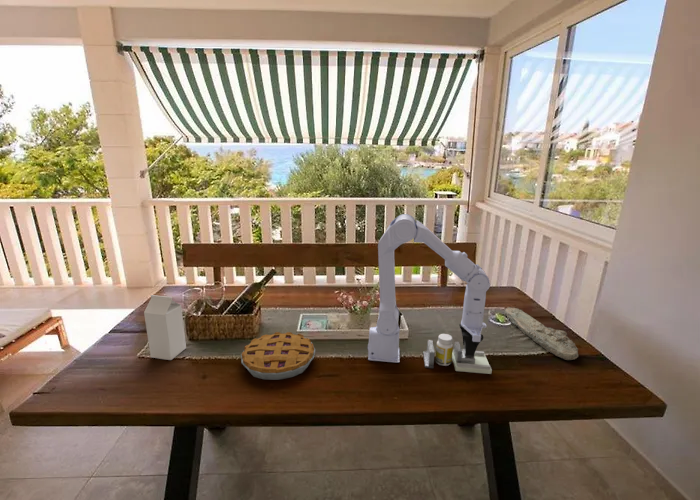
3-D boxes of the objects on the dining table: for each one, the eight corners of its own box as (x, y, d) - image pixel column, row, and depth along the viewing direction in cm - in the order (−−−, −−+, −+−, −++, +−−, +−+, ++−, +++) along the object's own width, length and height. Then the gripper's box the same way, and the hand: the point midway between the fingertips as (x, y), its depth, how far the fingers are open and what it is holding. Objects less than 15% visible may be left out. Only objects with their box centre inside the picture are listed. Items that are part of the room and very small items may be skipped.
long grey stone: (519, 315, 142) (496, 318, 141) (520, 303, 141) (497, 305, 139) (588, 360, 108) (559, 364, 107) (590, 344, 107) (560, 348, 106)
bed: (455, 370, 102) (456, 364, 102) (451, 354, 110) (451, 348, 110) (491, 373, 101) (492, 367, 101) (484, 357, 109) (485, 351, 109)
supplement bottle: (449, 357, 109) (452, 333, 107) (452, 366, 104) (455, 341, 102) (434, 356, 109) (436, 332, 107) (436, 365, 105) (438, 340, 102)
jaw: (425, 367, 104) (426, 352, 102) (423, 352, 111) (424, 338, 110) (433, 368, 103) (434, 353, 102) (430, 353, 111) (432, 339, 110)
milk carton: (171, 360, 105) (163, 302, 100) (150, 357, 106) (141, 299, 101) (186, 348, 112) (179, 292, 107) (166, 345, 113) (159, 290, 108)
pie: (313, 340, 118) (313, 327, 117) (317, 381, 97) (317, 365, 96) (246, 344, 115) (245, 331, 113) (235, 387, 94) (234, 371, 93)
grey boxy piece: (456, 363, 103) (458, 347, 102) (453, 353, 109) (455, 337, 107) (475, 365, 103) (477, 348, 101) (471, 354, 108) (472, 338, 107)
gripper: (494, 322, 94) (488, 366, 97) (482, 300, 108) (477, 340, 111) (467, 320, 95) (462, 364, 98) (458, 298, 108) (454, 338, 112)
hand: (468, 351), depth 105 cm, fingers closed on grey boxy piece, 3 cm apart
